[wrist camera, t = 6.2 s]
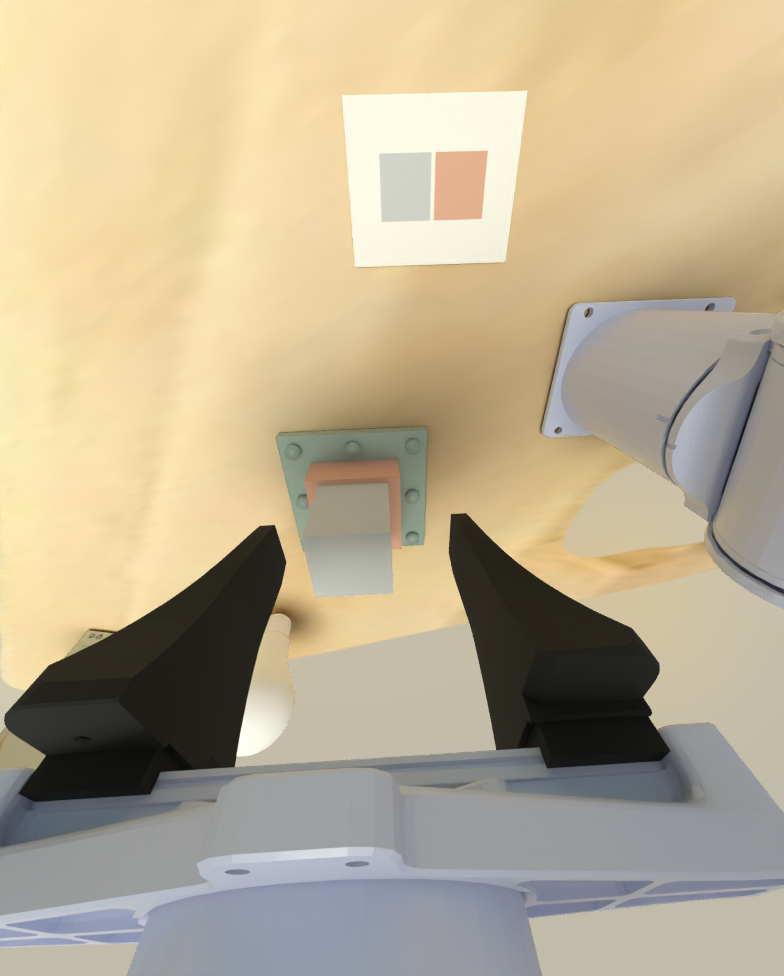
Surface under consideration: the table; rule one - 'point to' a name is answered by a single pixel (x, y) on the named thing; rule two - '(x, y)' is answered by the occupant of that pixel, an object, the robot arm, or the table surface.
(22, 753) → the skincare box
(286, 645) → the lightbulb
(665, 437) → the robot arm
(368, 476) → the base brick
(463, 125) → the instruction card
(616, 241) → the table surface
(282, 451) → the build plate
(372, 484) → the grey brick
